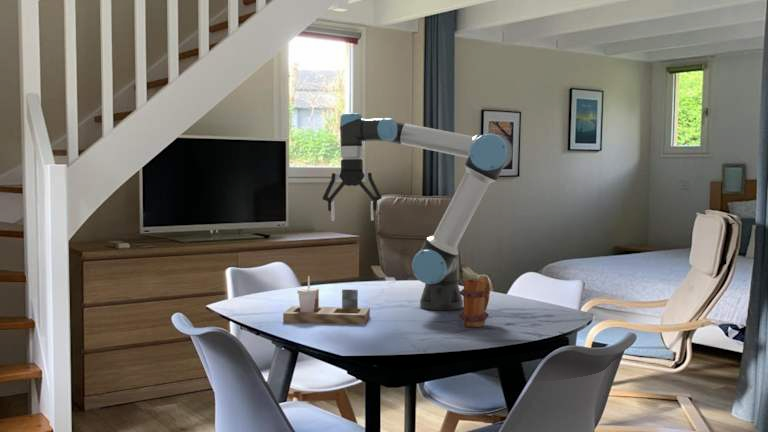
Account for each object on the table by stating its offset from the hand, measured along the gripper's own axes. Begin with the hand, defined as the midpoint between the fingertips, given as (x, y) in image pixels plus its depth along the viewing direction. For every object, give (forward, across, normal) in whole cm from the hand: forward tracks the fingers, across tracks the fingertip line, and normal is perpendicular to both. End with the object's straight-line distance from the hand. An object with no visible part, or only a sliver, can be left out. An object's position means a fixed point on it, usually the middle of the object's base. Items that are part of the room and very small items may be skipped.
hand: (352, 220), depth 274 cm
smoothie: (+31, +13, +20) cm, 39 cm away
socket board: (+31, +7, +20) cm, 37 cm away
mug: (+32, -41, +24) cm, 57 cm away
